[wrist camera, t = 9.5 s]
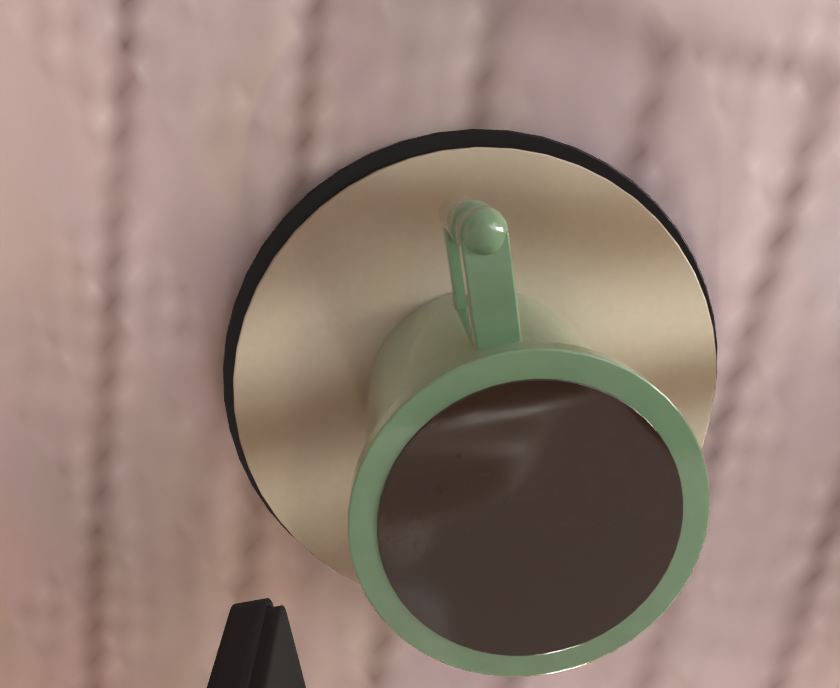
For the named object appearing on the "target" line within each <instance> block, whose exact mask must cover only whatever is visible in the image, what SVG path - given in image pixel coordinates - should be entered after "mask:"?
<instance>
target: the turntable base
mask: <svg viewBox="0 0 840 688" xmlns="http://www.w3.org/2000/svg"><path fill="white" fill-rule="evenodd" d="M470 147H489V148H513V149H519V150H524V151H530V152H535V153H541V154H546V155H550V156H553V157H556V158H559V159H562V160H565V161H568V162H571V163H574V164H577V165H579V166H581V167H583V168H586V169H588V170H590V171H592V172H594V173H596V174H598V175H600V176H602V177H604V178H606V179H608V180H609V181H611V182H612V183H614V184H615V185H617V186H618V187H619V188H621V189H622V190H624V191H625V192H627V193H628V194H630V195H631V196H633V197H634V198H635V199H636V200H638V201H639V202H640V203H641V204H642V205H643V206H644V207H645V208H646V209H647V210H648V211H649V212H650V213H652V214H653V215H654V216H655V217H656V218H657V219H658V220H659V221H660V222H661V224H662V225H663V226H664V227H665V229H666V230H667V231H668V232H669V234H670V235H671V236H672V237H673V238H674V240H675V241H676V242H677V243H678V245H679V246H680V248H681V250H682V251H683V253H684V255H685V257H686V258H687V260H688V262H689V263H690V265H691V267H692V268H693V270H694V272H695V275H696V277H697V279H698V282H699V284H700V287H701V289H702V292H703V294H704V296H705V299H706V302H707V306H708V310H709V314H710V318H711V322H712V326H713V332H714V341H715V350H716V376H717V340H716V331H715V322H714V314H713V310H712V307H711V303H710V299H709V295H708V291H707V287H706V284H705V282H704V279H703V277H702V274H701V272H700V269H699V267H698V265H697V262H696V260H695V257H694V255H693V254H692V252H691V250H690V249H689V247H688V245H687V244H686V242H685V240H684V239H683V237H682V235H681V233H680V232H679V230H678V229H677V227H676V226H675V225H674V224H673V222H672V221H671V220H670V219H669V217H668V216H667V215H666V214H665V212H664V211H663V210H662V209H661V208H660V206H659V205H658V204H657V203H656V202H655V201H654V200H653V199H652V198H651V197H650V196H648V195H647V194H646V193H645V192H644V191H643V190H642V189H641V188H640V187H639V186H638V185H637V184H636V183H634V182H633V181H632V180H630V179H629V178H628V177H626V176H625V175H623V174H622V173H620V172H619V171H617V170H616V169H614V168H613V167H612V166H610V165H609V164H607V163H606V162H604V161H602V160H600V159H598V158H596V157H594V156H592V155H590V154H588V153H586V152H583V151H581V150H579V149H577V148H575V147H572V146H569V145H566V144H563V143H560V142H557V141H554V140H551V139H548V138H545V137H541V136H536V135H530V134H525V133H519V132H514V131H508V130H483V129H469V130H459V131H448V132H438V133H433V134H429V135H425V136H420V137H416V138H412V139H408V140H404V141H400V142H398V143H395V144H393V145H390V146H387V147H385V148H382V149H380V150H377V151H375V152H372V153H369V154H367V155H366V156H364V157H362V158H360V159H358V160H357V161H355V162H353V163H351V164H349V165H348V166H346V167H344V168H342V169H340V170H339V171H337V172H336V173H334V174H333V175H332V176H330V177H329V178H328V179H326V180H325V181H324V182H322V183H321V184H320V185H318V186H317V187H316V188H314V189H313V190H312V191H310V192H309V193H308V194H307V195H306V196H305V197H304V198H303V199H302V200H301V201H300V202H299V203H298V204H297V205H296V206H295V207H294V208H293V209H292V210H291V211H290V212H289V213H288V214H287V215H286V216H285V217H284V218H283V219H282V221H281V222H280V223H279V224H278V226H277V227H276V228H275V230H274V231H273V232H272V234H271V235H270V236H269V237H268V239H267V240H266V241H265V243H264V244H263V245H262V247H261V249H260V251H259V252H258V254H257V256H256V258H255V259H254V261H253V263H252V265H251V267H250V268H249V270H248V272H247V274H246V276H245V278H244V281H243V283H242V286H241V288H240V291H239V293H238V296H237V298H236V301H235V303H234V307H233V311H232V315H231V319H230V323H229V327H228V331H227V335H226V344H225V354H224V364H223V380H224V401H225V406H226V412H227V417H228V423H229V428H230V432H231V435H232V438H233V441H234V444H235V447H236V450H237V453H238V456H239V459H240V461H241V463H242V465H243V467H244V469H245V471H246V473H247V476H248V478H249V480H250V482H251V484H252V486H253V487H254V489H255V490H256V492H257V493H258V495H259V496H260V498H261V499H262V501H263V502H264V504H265V505H266V507H267V508H268V510H269V511H270V512H271V513H272V514H273V516H274V517H275V518H276V519H277V520H278V521H279V522H280V520H279V519H278V518H277V517H276V515H275V514H274V512H273V511H272V509H271V508H270V506H269V505H268V503H267V502H266V500H265V499H264V497H263V496H262V494H261V492H260V490H259V488H258V486H257V484H256V482H255V480H254V478H253V476H252V473H251V471H250V469H249V467H248V464H247V461H246V458H245V455H244V452H243V449H242V446H241V443H240V439H239V434H238V428H237V423H236V417H235V411H234V388H233V376H234V367H235V358H236V349H237V344H238V340H239V336H240V332H241V329H242V325H243V321H244V317H245V314H246V312H247V310H248V307H249V305H250V302H251V300H252V297H253V295H254V292H255V290H256V288H257V286H258V284H259V282H260V281H261V279H262V277H263V275H264V274H265V272H266V270H267V268H268V267H269V265H270V263H271V262H272V260H273V258H274V257H275V256H276V254H277V253H278V252H279V251H280V249H281V248H282V247H283V245H284V244H285V243H286V242H287V240H288V239H289V238H290V237H291V235H292V234H293V233H294V231H295V230H296V229H297V228H298V227H299V226H300V225H301V224H302V223H303V222H305V221H306V220H307V219H308V218H309V217H310V216H311V215H312V214H313V213H314V212H315V211H316V210H317V209H318V208H319V207H320V206H321V205H323V204H324V203H325V202H327V201H328V200H329V199H331V198H332V197H334V196H335V195H336V194H338V193H339V192H340V191H342V190H343V189H344V188H346V187H347V186H349V185H351V184H353V183H354V182H356V181H358V180H360V179H362V178H364V177H365V176H367V175H369V174H371V173H373V172H375V171H376V170H379V169H381V168H384V167H387V166H389V165H392V164H394V163H397V162H400V161H402V160H405V159H407V158H411V157H415V156H419V155H424V154H428V153H432V152H436V151H441V150H449V149H459V148H470ZM280 523H281V522H280ZM281 525H282V526H283V527H284V528H285V529H286V530H287V531H288V529H287V528H286V527H285V526H284V525H283V524H282V523H281ZM288 532H289V531H288ZM289 534H291V533H290V532H289ZM291 535H292V534H291ZM292 536H293V535H292ZM293 537H294V536H293ZM294 538H295V537H294Z"/></svg>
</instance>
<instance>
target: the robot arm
mask: <svg viewBox="0 0 840 688" xmlns="http://www.w3.org/2000/svg"><path fill="white" fill-rule="evenodd" d="M207 688H306V686H305V682H304V678H303V675H302V671H301V667H300V663H299V659H298V655H297V651H296V647H295V643H294V640H293V636H292V632H291V628H290V624H289V620H288V616H287V613H286V609H285V607H284V606H283V605H281V606H275V607H274V606H273V603H272V601H271V600H270V599H269V598H265V599H260V600H254V601H248V602H243V603H237V604H234V605H232V607H231V609H230V612H229V616H228V619H227V622H226V626H225V629H224V632H223V636H222V639H221V642H220V646H219V649H218V652H217V656H216V659H215V662H214V666H213V669H212V672H211V676H210V679H209V682H208V686H207Z"/></svg>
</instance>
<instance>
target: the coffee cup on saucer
mask: <svg viewBox="0 0 840 688" xmlns="http://www.w3.org/2000/svg"><path fill="white" fill-rule="evenodd" d="M233 388H234V411H235V417H236V423H237V428H238V434H239V439H240V443H241V446H242V449H243V452H244V455H245V458H246V461H247V464H248V467H249V469H250V471H251V473H252V476H253V478H254V480H255V482H256V484H257V486H258V488H259V490H260V492H261V494H262V496H263V497H264V499H265V500H266V502H267V503H268V505H269V506H270V508H271V509H272V511H273V512H274V514H275V515H276V517H277V518H278V519H279V520H280V522H281V523H282V524H283V525H284V526H285V527H286V528H287V529H288V531H289V532H290V533H291V534H292V535H293V536H294V537H295V539H296V540H297V541H298V542H300V543H301V544H302V545H303V546H304V547H305V548H306V549H308V550H309V551H310V552H311V553H312V554H313V555H314V556H316V557H317V558H318V559H319V560H321V561H322V562H324V563H325V564H327V565H328V566H330V567H331V568H333V569H334V570H336V571H337V572H339V573H340V574H342V575H343V576H345V577H347V578H349V579H351V580H353V581H355V582H357V583H359V584H361V587H362V589H363V591H364V593H365V595H366V597H367V598H368V600H369V601H370V603H371V604H372V606H373V607H374V609H375V611H376V612H377V613H378V614H379V615H380V617H381V618H382V619H383V620H384V621H385V622H386V624H387V625H388V626H389V627H390V628H391V629H392V630H393V631H394V632H396V633H397V634H398V635H399V636H400V637H401V638H402V639H404V640H405V641H406V642H407V643H409V644H410V645H412V646H413V647H415V648H416V649H418V650H419V651H421V652H422V653H424V654H426V655H428V656H430V657H432V658H434V659H436V660H438V661H440V662H442V663H445V664H448V665H450V666H453V667H456V668H459V669H462V670H466V671H470V672H475V673H480V674H484V675H494V676H504V677H526V676H536V675H544V674H551V673H556V672H560V671H564V670H569V669H573V668H575V667H578V666H581V665H584V664H587V663H590V662H593V661H595V660H597V659H599V658H601V657H603V656H605V655H607V654H609V653H612V652H614V651H615V650H617V649H618V648H620V647H622V646H623V645H625V644H627V643H628V642H630V641H631V640H633V639H634V638H635V637H637V636H638V635H639V634H641V633H642V632H643V631H644V630H646V629H647V628H648V627H649V626H651V625H652V624H653V623H654V622H655V621H656V620H657V619H658V618H659V617H660V616H661V615H662V614H663V613H664V612H665V611H666V610H667V608H668V607H669V606H670V605H671V603H672V602H673V601H674V600H675V598H676V597H677V596H678V595H679V593H680V592H681V590H682V588H683V587H684V585H685V584H686V582H687V580H688V579H689V577H690V576H691V573H692V571H693V569H694V567H695V565H696V563H697V561H698V558H699V556H700V553H701V550H702V547H703V543H704V540H705V537H706V532H707V526H708V520H709V513H710V489H709V481H708V472H707V468H706V465H705V461H704V457H703V454H702V450H701V447H702V445H703V442H704V438H705V435H706V432H707V428H708V425H709V422H710V418H711V413H712V407H713V401H714V395H715V389H716V350H715V341H714V332H713V326H712V322H711V318H710V314H709V310H708V306H707V302H706V299H705V296H704V294H703V292H702V289H701V287H700V284H699V282H698V279H697V277H696V275H695V272H694V270H693V268H692V267H691V265H690V263H689V262H688V260H687V258H686V257H685V255H684V253H683V251H682V250H681V248H680V246H679V245H678V243H677V242H676V241H675V240H674V238H673V237H672V236H671V235H670V234H669V232H668V231H667V230H666V229H665V227H664V226H663V225H662V224H661V222H660V221H659V220H658V219H657V218H656V217H655V216H654V215H653V214H652V213H650V212H649V211H648V210H647V209H646V208H645V207H644V206H643V205H642V204H641V203H640V202H639V201H638V200H636V199H635V198H634V197H633V196H631V195H630V194H628V193H627V192H625V191H624V190H622V189H621V188H619V187H618V186H617V185H615V184H614V183H612V182H611V181H609V180H608V179H606V178H604V177H602V176H600V175H598V174H596V173H594V172H592V171H590V170H588V169H586V168H583V167H581V166H579V165H577V164H574V163H571V162H568V161H565V160H562V159H559V158H556V157H553V156H550V155H546V154H541V153H535V152H530V151H524V150H519V149H513V148H489V147H470V148H459V149H449V150H441V151H436V152H432V153H428V154H424V155H419V156H415V157H411V158H407V159H405V160H402V161H400V162H397V163H394V164H392V165H389V166H387V167H384V168H381V169H379V170H376V171H375V172H373V173H371V174H369V175H367V176H365V177H364V178H362V179H360V180H358V181H356V182H354V183H353V184H351V185H349V186H347V187H346V188H344V189H343V190H342V191H340V192H339V193H338V194H336V195H335V196H334V197H332V198H331V199H329V200H328V201H327V202H325V203H324V204H323V205H321V206H320V207H319V208H318V209H317V210H316V211H315V212H314V213H313V214H312V215H311V216H310V217H309V218H308V219H307V220H306V221H305V222H303V223H302V224H301V225H300V226H299V227H298V228H297V229H296V230H295V231H294V233H293V234H292V235H291V237H290V238H289V239H288V240H287V242H286V243H285V244H284V245H283V247H282V248H281V249H280V251H279V252H278V253H277V254H276V256H275V257H274V258H273V260H272V262H271V263H270V265H269V267H268V268H267V270H266V272H265V274H264V275H263V277H262V279H261V281H260V282H259V284H258V286H257V288H256V290H255V292H254V295H253V297H252V300H251V302H250V305H249V307H248V310H247V312H246V314H245V317H244V321H243V325H242V329H241V332H240V336H239V340H238V344H237V349H236V358H235V367H234V376H233Z"/></svg>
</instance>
